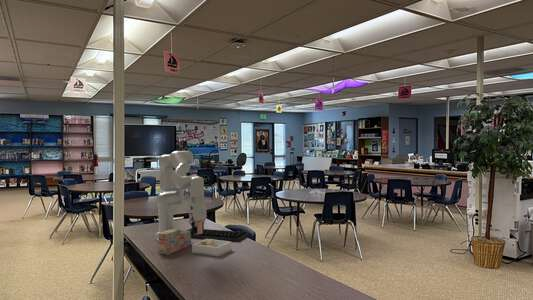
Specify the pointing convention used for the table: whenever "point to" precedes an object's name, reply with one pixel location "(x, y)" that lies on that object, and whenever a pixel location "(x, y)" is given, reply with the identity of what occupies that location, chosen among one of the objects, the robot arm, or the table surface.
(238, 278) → the table surface
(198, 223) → the smooth tan pebble
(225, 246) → the tote
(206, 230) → the computer keyboard
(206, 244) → the cube
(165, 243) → the stack of blocks
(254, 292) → the table surface
